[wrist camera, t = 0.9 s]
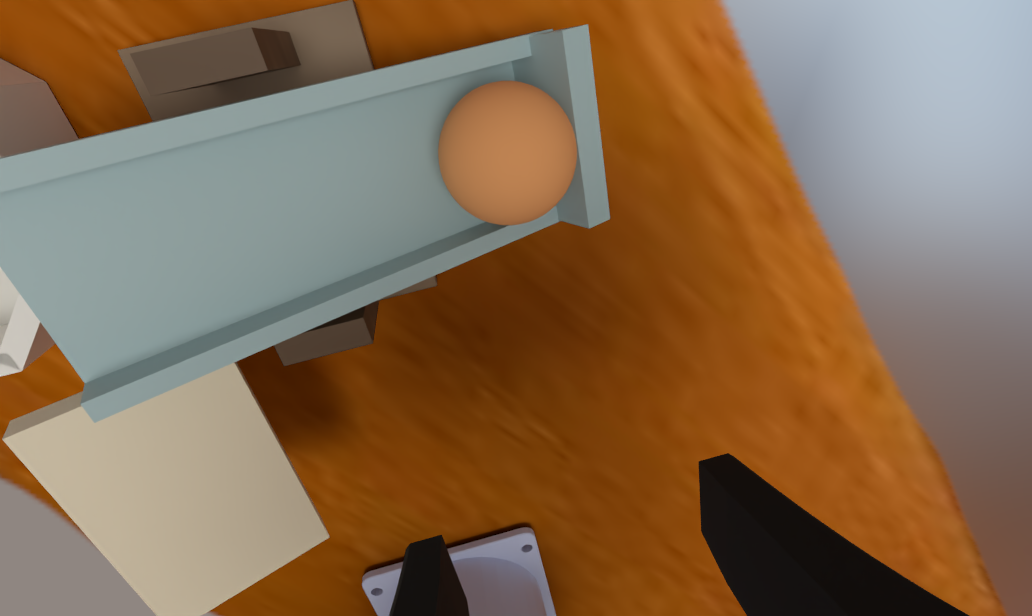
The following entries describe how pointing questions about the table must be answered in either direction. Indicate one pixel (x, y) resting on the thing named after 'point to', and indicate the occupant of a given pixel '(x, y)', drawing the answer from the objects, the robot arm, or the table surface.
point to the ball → (507, 152)
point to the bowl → (6, 131)
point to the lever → (241, 291)
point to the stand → (253, 73)
